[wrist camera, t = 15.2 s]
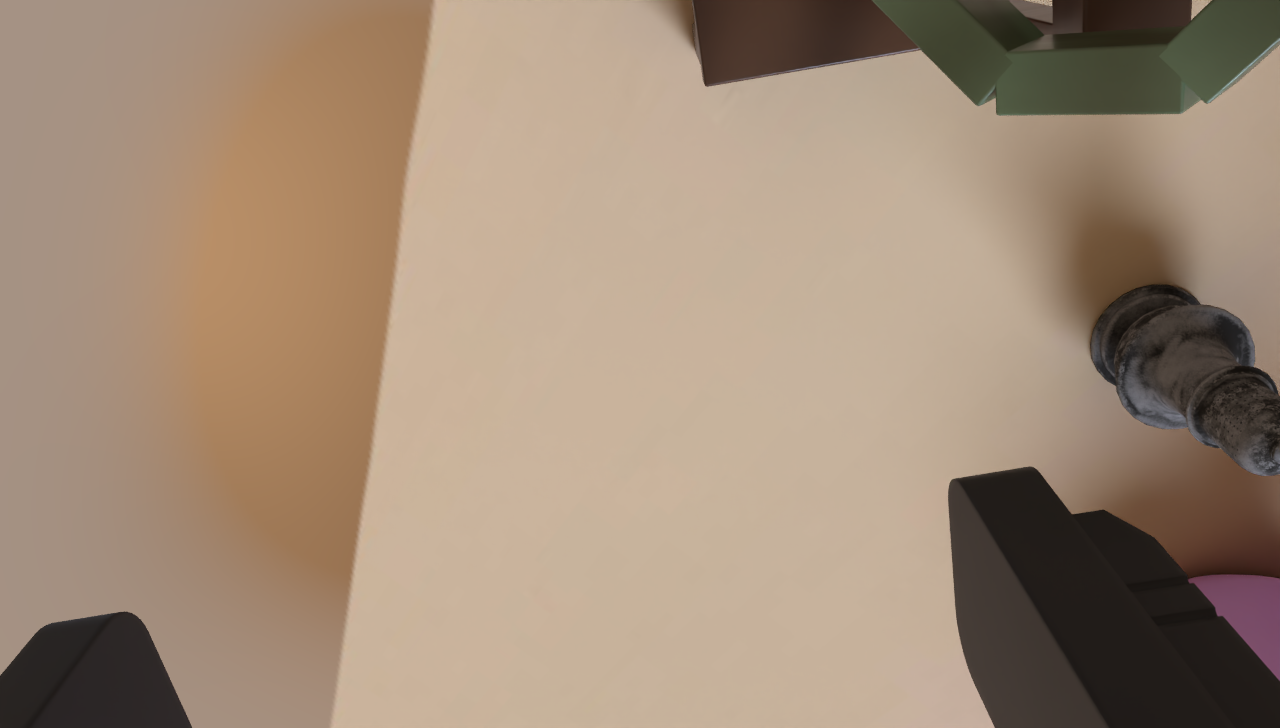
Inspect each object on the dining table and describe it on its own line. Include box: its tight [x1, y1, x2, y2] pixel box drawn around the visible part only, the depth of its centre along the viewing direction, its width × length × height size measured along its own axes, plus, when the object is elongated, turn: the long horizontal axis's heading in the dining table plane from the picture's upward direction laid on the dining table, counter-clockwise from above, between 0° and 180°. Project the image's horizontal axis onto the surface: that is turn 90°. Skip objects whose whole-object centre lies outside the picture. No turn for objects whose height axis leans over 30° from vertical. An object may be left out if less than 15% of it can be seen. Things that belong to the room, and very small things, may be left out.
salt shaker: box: [1091, 285, 1280, 476], centre depth 42 cm, size 6×6×12 cm
